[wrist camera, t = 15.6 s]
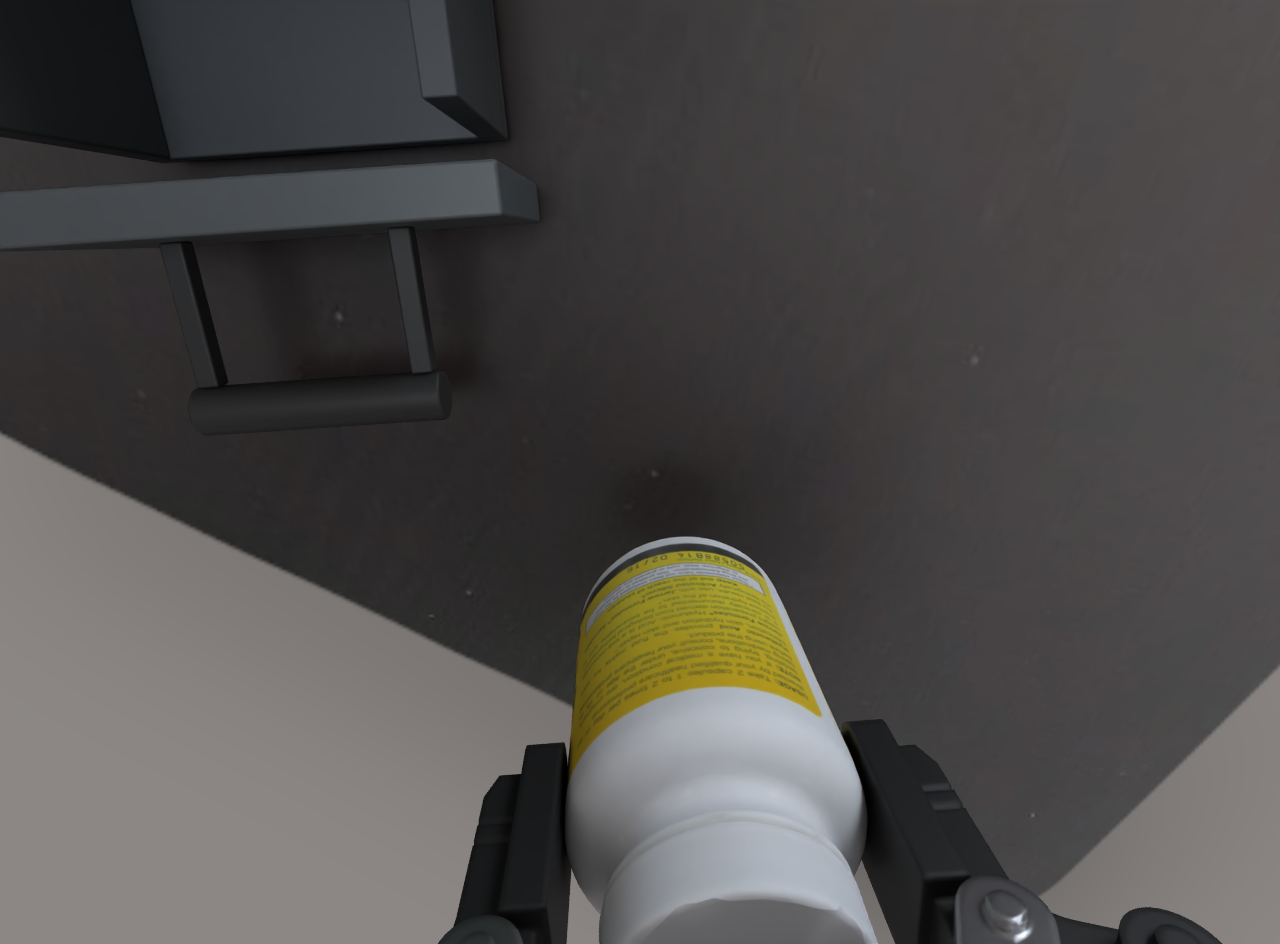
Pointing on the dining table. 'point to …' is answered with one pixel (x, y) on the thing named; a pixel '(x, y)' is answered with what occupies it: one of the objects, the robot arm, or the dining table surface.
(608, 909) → the supplement bottle
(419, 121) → the grey pull-out drawer
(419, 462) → the dining table surface
